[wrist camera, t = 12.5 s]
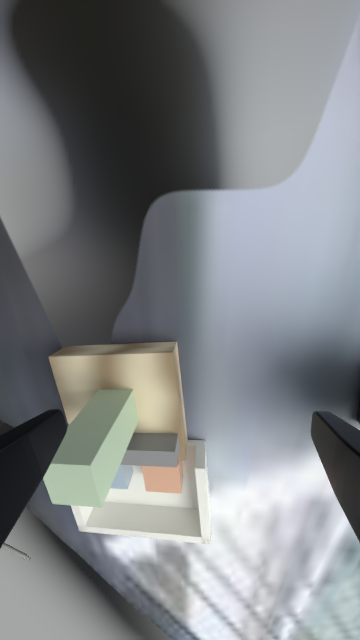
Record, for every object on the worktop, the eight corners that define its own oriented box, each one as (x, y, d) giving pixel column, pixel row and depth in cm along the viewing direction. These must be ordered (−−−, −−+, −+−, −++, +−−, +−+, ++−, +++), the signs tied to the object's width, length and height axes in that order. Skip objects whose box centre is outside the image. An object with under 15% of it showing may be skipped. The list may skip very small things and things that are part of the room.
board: (177, 341, 20) (173, 352, 18) (187, 439, 23) (185, 460, 21) (65, 346, 22) (48, 356, 19) (89, 437, 25) (77, 455, 23)
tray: (205, 440, 23) (205, 468, 20) (210, 510, 26) (211, 544, 23) (74, 436, 25) (56, 461, 22) (93, 501, 28) (79, 531, 25)
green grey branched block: (172, 388, 19) (151, 468, 12) (179, 448, 21) (165, 548, 13) (63, 389, 20) (-15, 460, 13) (79, 444, 22) (18, 532, 15)
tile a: (180, 448, 23) (178, 465, 21) (183, 475, 24) (181, 493, 22) (146, 447, 24) (140, 463, 22) (150, 473, 25) (145, 491, 23)
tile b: (128, 445, 24) (121, 461, 22) (133, 471, 25) (127, 489, 23) (96, 444, 24) (87, 460, 23) (102, 470, 26) (94, 487, 24)
